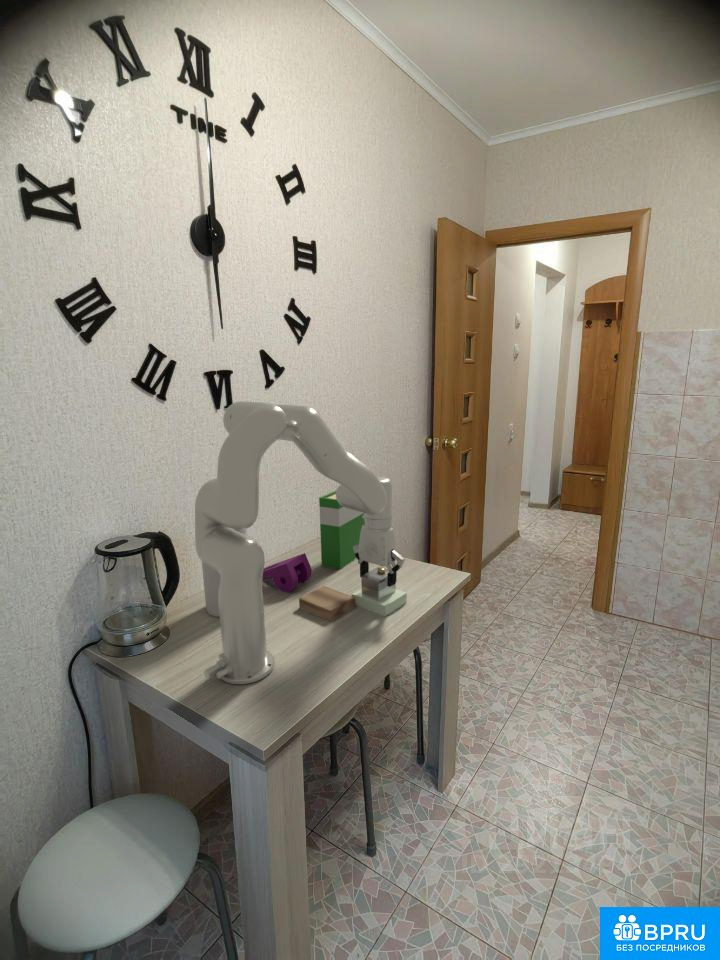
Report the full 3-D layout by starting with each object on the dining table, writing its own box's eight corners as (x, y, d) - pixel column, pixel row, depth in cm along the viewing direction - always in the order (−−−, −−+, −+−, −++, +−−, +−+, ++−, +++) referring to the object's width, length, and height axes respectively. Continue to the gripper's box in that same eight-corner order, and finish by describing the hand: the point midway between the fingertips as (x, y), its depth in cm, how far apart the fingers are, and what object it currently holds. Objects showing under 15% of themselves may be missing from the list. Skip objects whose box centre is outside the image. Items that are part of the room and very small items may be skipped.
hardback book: (347, 548, 182) (346, 486, 177) (365, 551, 179) (364, 488, 173) (321, 565, 167) (319, 497, 162) (340, 569, 164) (338, 500, 158)
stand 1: (330, 621, 131) (330, 610, 130) (299, 607, 138) (299, 598, 137) (354, 606, 138) (354, 597, 137) (324, 595, 146) (323, 585, 145)
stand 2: (385, 616, 133) (385, 606, 132) (351, 603, 140) (351, 593, 139) (406, 602, 140) (406, 592, 139) (373, 591, 148) (373, 581, 147)
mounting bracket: (257, 601, 155) (297, 589, 145) (246, 577, 155) (285, 563, 145) (276, 590, 163) (315, 577, 153) (266, 566, 163) (305, 552, 153)
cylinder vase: (236, 593, 148) (230, 514, 142) (260, 606, 139) (254, 522, 134) (198, 608, 139) (189, 524, 133) (221, 623, 131) (213, 534, 125)
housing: (378, 601, 135) (378, 578, 133) (361, 595, 138) (361, 572, 137) (395, 591, 141) (395, 568, 139) (378, 585, 144) (378, 563, 143)
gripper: (345, 519, 137) (345, 576, 141) (395, 532, 126) (395, 593, 130) (362, 513, 143) (362, 568, 146) (412, 525, 132) (410, 584, 136)
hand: (377, 580), depth 138 cm, fingers open, 9 cm apart
